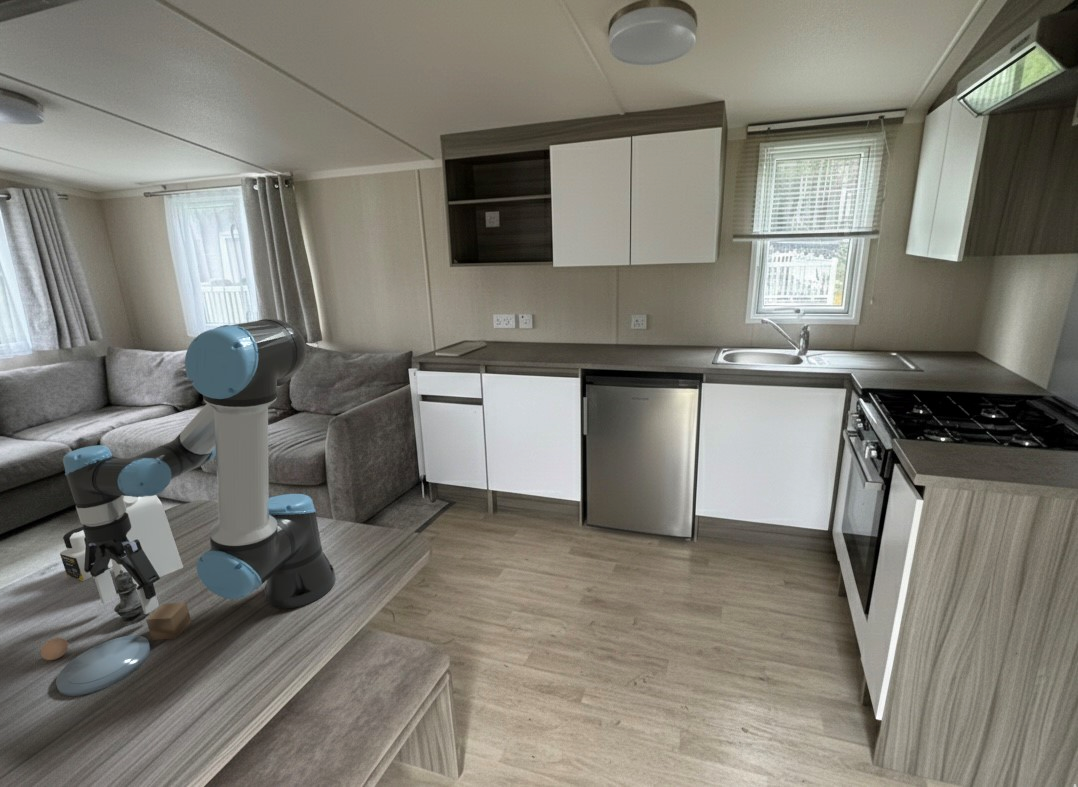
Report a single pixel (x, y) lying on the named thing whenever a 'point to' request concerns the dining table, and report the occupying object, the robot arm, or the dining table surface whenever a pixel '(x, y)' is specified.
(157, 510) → the milk
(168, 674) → the dining table surface
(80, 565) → the medicine bottle
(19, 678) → the dining table surface
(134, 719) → the dining table surface
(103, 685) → the plate
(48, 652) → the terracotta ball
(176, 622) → the walnut block
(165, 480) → the robot arm
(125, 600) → the stone chess piece
